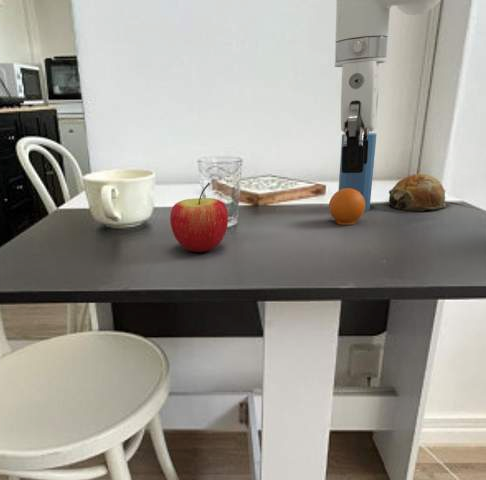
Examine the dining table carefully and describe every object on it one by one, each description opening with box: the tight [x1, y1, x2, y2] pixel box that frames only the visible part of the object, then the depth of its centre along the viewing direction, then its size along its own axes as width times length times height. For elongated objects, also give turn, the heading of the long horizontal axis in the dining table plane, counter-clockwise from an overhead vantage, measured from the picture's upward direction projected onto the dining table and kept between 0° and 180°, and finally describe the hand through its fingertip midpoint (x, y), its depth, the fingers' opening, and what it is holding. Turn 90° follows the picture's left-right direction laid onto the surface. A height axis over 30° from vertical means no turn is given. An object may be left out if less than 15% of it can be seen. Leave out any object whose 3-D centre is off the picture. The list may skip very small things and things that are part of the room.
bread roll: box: [388, 173, 447, 212], centre depth 85 cm, size 10×10×8 cm
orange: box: [328, 188, 365, 226], centre depth 76 cm, size 6×6×6 cm
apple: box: [169, 182, 229, 253], centre depth 64 cm, size 8×8×10 cm
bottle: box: [338, 128, 377, 213], centre depth 83 cm, size 6×6×18 cm
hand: (355, 168), depth 73 cm, fingers open, 9 cm apart
